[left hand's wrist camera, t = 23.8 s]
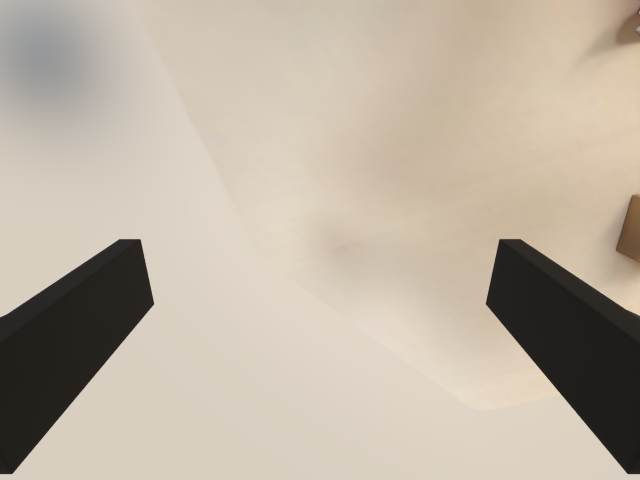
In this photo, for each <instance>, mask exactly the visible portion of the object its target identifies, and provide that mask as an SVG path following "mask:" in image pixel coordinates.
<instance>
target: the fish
mask: <svg viewBox="0 0 640 480" xmlns="http://www.w3.org/2000/svg"><path fill="white" fill-rule="evenodd" d="M637 13H638V14H640V8H639V10H638V12H637ZM635 31H636V32H637V33H638V34H639V35H640V26H639V27H638V28H637V29H636V30H635Z"/></svg>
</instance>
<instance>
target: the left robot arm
mask: <svg viewBox="0 0 640 480" xmlns="http://www.w3.org/2000/svg"><path fill="white" fill-rule="evenodd" d="M153 305H154V301H153V296H152V291H151V287H150V282H149V277H148V273H147V268H146V263H145V258H144V254H143V249H142V244H141V240H140V239H119V240H118V241H116V242H115V243H113V244H112V245H110V246H109V247H107V248H106V249H104V250H103V251H101V252H100V253H98V254H97V255H95V256H94V257H92V258H91V259H89V260H88V261H86V262H85V263H83V264H82V265H80V266H79V267H77V268H76V269H74V270H73V271H71V272H70V273H68V274H67V275H65V276H64V277H62V278H61V279H59V280H58V281H56V282H55V283H53V284H52V285H50V286H49V287H47V288H46V289H44V290H43V291H41V292H40V293H38V294H37V295H35V296H34V297H32V298H31V299H29V300H28V301H26V302H25V303H23V304H22V305H20V306H19V307H17V308H16V309H14V310H13V311H11V312H10V313H8V314H7V315H5V316H2V317H0V474H13V473H14V471H15V470H16V469H17V468H18V467H19V465H20V464H21V463H22V462H23V461H24V459H25V458H26V457H27V456H28V455H29V453H30V452H31V451H32V450H33V449H34V447H35V446H36V445H37V444H38V443H39V441H40V440H41V439H42V438H43V437H44V435H45V434H46V433H47V432H48V431H49V429H50V428H51V427H52V426H53V425H54V423H55V422H56V421H57V420H58V419H59V417H60V416H61V415H62V414H63V413H64V411H65V410H66V409H67V408H68V407H69V405H70V404H71V403H72V402H73V401H74V400H75V398H76V397H77V396H78V395H79V394H80V392H81V391H82V390H83V389H84V388H85V386H86V385H87V384H88V383H89V382H90V380H91V379H92V378H93V377H94V376H95V374H96V373H97V372H98V371H99V370H100V368H101V367H102V366H103V365H104V364H105V362H106V361H107V360H108V359H109V358H110V356H111V355H112V354H113V353H114V352H115V350H116V349H117V348H118V347H119V346H120V344H121V343H122V342H123V341H124V340H125V338H126V337H127V336H128V335H129V334H130V332H131V331H132V330H133V329H134V328H135V326H136V325H137V324H138V323H139V322H140V320H141V319H142V318H143V317H144V316H145V314H146V313H147V312H148V311H149V310H150V308H151V307H152V306H153ZM486 305H487V306H488V307H489V308H490V310H491V311H492V312H493V313H494V314H495V316H496V317H497V318H498V319H499V320H500V322H501V323H502V324H503V325H504V326H505V328H506V329H507V330H508V331H509V332H510V334H511V335H512V336H513V337H514V338H515V340H516V341H517V342H518V343H519V344H520V346H521V347H522V348H523V349H524V350H525V352H526V353H527V354H528V355H529V356H530V358H531V359H532V360H533V361H534V362H535V364H536V365H537V366H538V367H539V368H540V370H541V371H542V372H543V373H544V374H545V376H546V377H547V378H548V379H549V380H550V382H551V383H552V384H553V385H554V386H555V388H556V389H557V390H558V391H559V392H560V394H561V395H562V396H563V397H564V398H565V399H566V401H567V402H568V403H569V404H570V405H571V407H572V408H573V409H574V410H575V411H576V413H577V414H578V415H579V416H580V417H581V419H582V420H583V421H584V422H585V423H586V425H587V426H588V427H589V428H590V429H591V431H592V432H593V433H594V434H595V435H596V437H597V438H598V439H599V440H600V441H601V443H602V444H603V445H604V446H605V447H606V449H607V450H608V451H609V452H610V453H611V455H612V456H613V457H614V458H615V459H616V461H617V462H618V463H619V464H620V465H621V467H622V468H623V469H624V470H625V471H626V473H627V474H640V316H639V315H637V314H634V313H632V312H630V311H628V310H626V309H624V308H623V307H621V306H620V305H618V304H617V303H615V302H614V301H612V300H611V299H609V298H608V297H606V296H605V295H603V294H602V293H600V292H599V291H597V290H596V289H594V288H593V287H591V286H590V285H588V284H587V283H585V282H584V281H582V280H581V279H579V278H578V277H576V276H575V275H573V274H572V273H570V272H569V271H567V270H566V269H564V268H563V267H561V266H560V265H558V264H557V263H555V262H554V261H552V260H551V259H549V258H548V257H546V256H545V255H543V254H542V253H540V252H539V251H537V250H536V249H534V248H533V247H531V246H530V245H528V244H527V243H525V242H524V241H522V240H521V239H499V244H498V249H497V253H496V258H495V263H494V268H493V272H492V277H491V282H490V287H489V291H488V296H487V301H486Z"/></svg>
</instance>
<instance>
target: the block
mask: <svg viewBox="0 0 640 480" xmlns="http://www.w3.org/2000/svg"><path fill="white" fill-rule="evenodd" d="M616 251H618V252H620V253H622V254H624V255H626V256H628V257H630V258H632V259H634V260H636V261H638V262H640V195H633V196H632V200H631V203H630V206H629V209H628V213H627V216H626V219H625V222H624V226H623V229H622V232H621V236H620V239H619V242H618V245H617V249H616Z"/></svg>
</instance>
